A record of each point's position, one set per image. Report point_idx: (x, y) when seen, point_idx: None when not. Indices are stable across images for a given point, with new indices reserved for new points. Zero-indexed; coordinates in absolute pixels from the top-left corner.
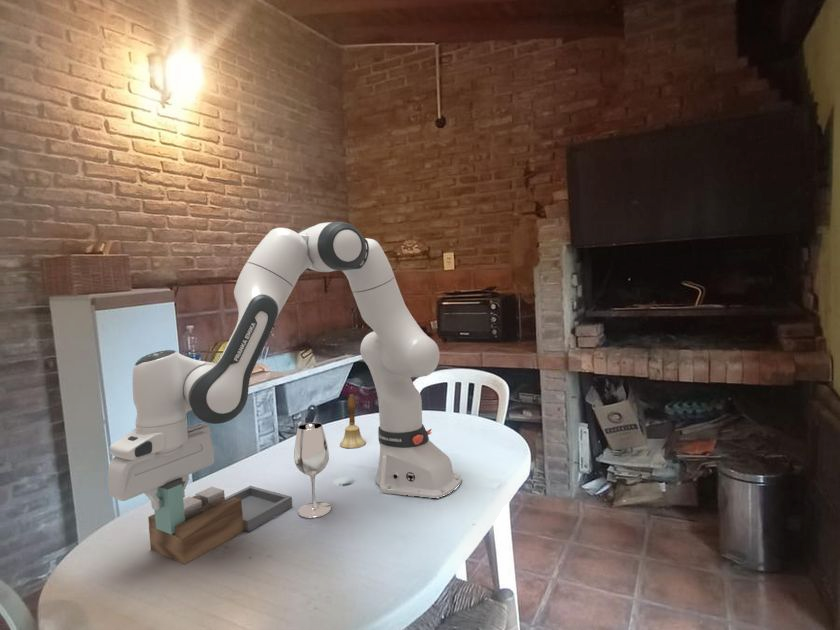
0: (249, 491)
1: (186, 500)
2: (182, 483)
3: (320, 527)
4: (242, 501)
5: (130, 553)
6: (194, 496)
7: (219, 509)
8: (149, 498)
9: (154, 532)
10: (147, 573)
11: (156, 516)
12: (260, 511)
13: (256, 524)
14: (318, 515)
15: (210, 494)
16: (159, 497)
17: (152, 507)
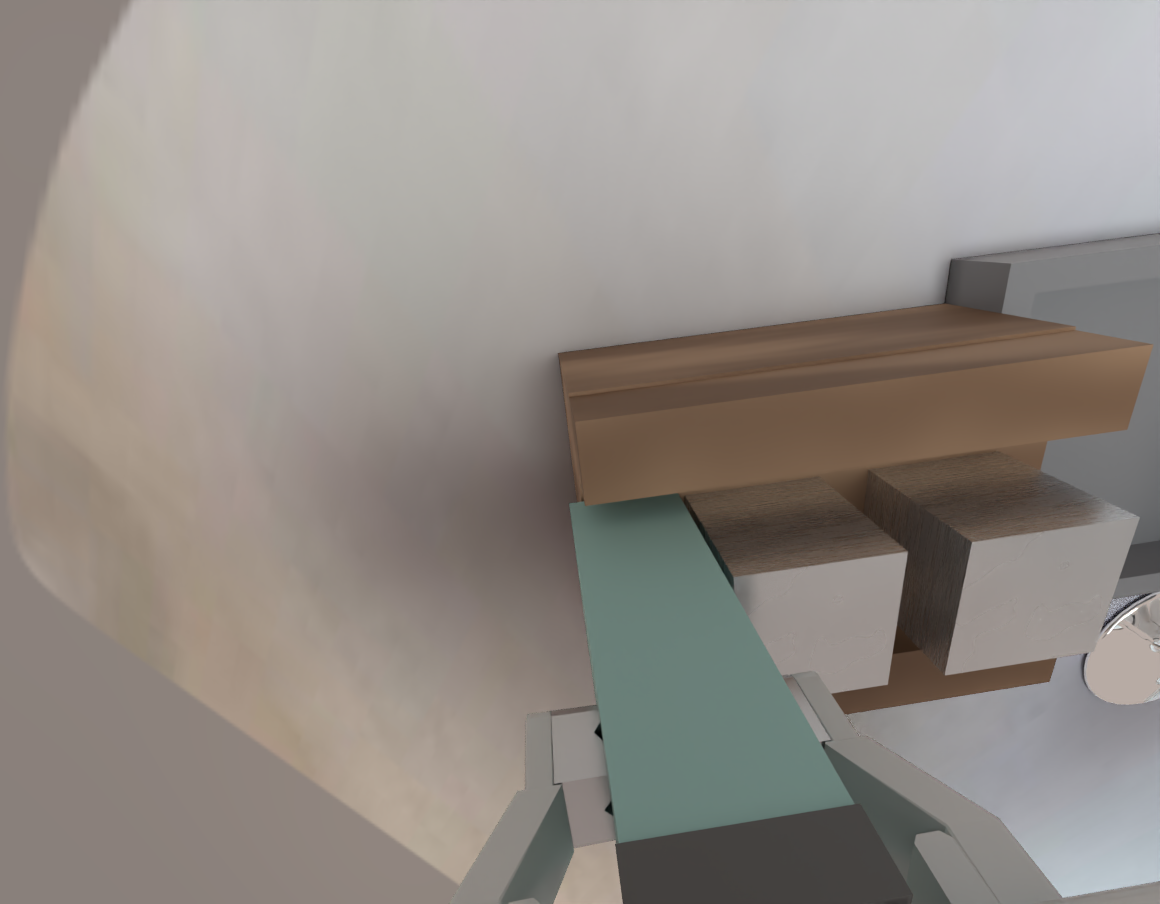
0: None
1: (842, 599)
2: (894, 854)
3: (1026, 749)
4: None
5: (467, 286)
6: (1004, 374)
7: (889, 701)
8: (501, 831)
9: (573, 443)
10: (451, 549)
11: (579, 575)
12: None
13: None
14: (1109, 698)
15: (996, 642)
16: (609, 792)
17: (526, 727)
